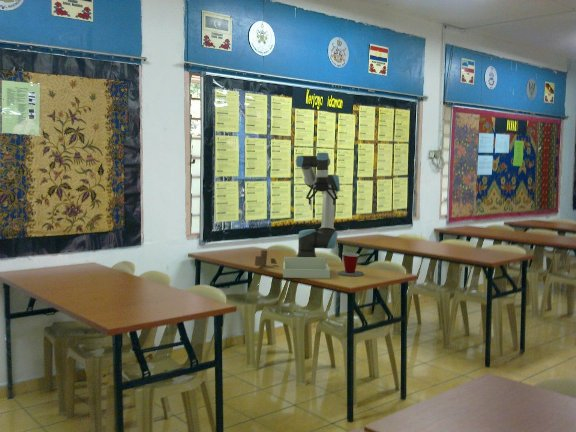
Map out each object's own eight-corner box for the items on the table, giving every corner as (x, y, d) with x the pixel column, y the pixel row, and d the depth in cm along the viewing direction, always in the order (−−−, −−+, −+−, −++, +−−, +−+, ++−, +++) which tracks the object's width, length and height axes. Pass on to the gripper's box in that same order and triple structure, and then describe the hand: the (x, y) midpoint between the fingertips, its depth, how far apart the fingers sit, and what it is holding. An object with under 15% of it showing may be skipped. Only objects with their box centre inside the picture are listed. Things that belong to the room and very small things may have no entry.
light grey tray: (283, 269, 389) (283, 257, 388) (326, 269, 389) (326, 257, 388) (283, 277, 361) (283, 264, 360) (329, 278, 361) (330, 264, 361)
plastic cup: (355, 274, 368) (355, 255, 367) (338, 272, 373) (339, 253, 372) (361, 272, 377) (362, 253, 376) (346, 270, 383) (346, 251, 382)
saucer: (336, 271, 383) (336, 270, 383) (361, 271, 383) (361, 270, 383) (338, 276, 367) (338, 274, 367) (365, 276, 367) (365, 275, 367)
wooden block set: (260, 269, 389) (261, 253, 388) (249, 266, 394) (251, 251, 393) (276, 265, 404) (278, 250, 403) (266, 263, 409) (267, 248, 408)
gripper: (302, 176, 380) (302, 210, 382) (342, 177, 380) (341, 210, 382) (302, 176, 388) (302, 209, 389) (341, 177, 388) (340, 209, 390)
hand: (321, 210), depth 386 cm, fingers open, 13 cm apart
